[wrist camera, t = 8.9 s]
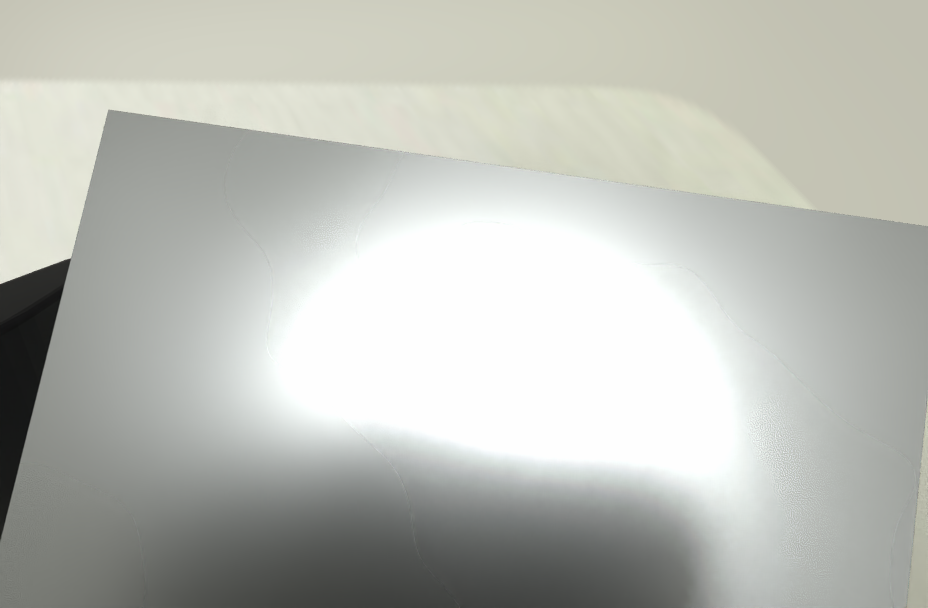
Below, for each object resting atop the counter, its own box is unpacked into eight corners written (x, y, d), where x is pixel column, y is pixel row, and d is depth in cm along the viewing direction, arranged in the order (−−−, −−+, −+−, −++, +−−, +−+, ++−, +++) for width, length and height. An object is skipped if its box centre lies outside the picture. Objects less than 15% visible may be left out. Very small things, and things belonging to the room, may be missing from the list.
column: (601, 589, 15) (854, 1275, 3) (392, 546, 15) (-123, 984, 3) (633, 375, 15) (956, 220, 3) (429, 340, 16) (102, 100, 4)
